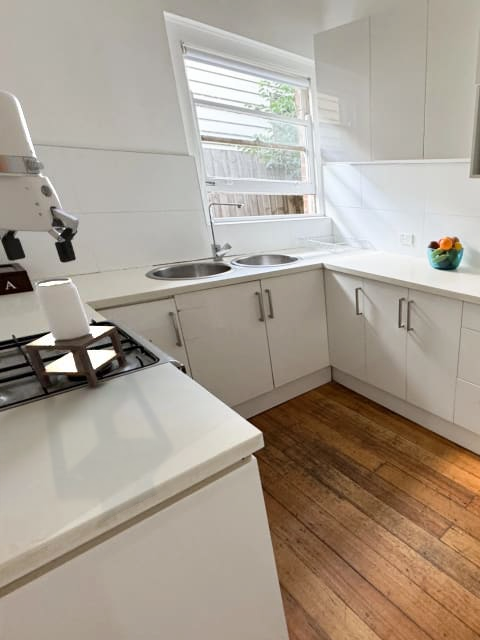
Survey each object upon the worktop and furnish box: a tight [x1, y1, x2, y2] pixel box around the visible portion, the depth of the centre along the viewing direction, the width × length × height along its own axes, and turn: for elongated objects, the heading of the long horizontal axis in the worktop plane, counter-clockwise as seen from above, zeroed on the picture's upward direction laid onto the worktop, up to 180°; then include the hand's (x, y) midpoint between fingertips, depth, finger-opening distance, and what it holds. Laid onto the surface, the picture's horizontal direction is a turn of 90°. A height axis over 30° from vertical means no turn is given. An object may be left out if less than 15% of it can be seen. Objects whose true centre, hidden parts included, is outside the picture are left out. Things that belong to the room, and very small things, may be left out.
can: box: [34, 277, 91, 340], centre depth 81 cm, size 6×6×12 cm
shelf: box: [24, 325, 128, 388], centre depth 85 cm, size 11×11×10 cm
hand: (43, 260), depth 77 cm, fingers open, 9 cm apart
